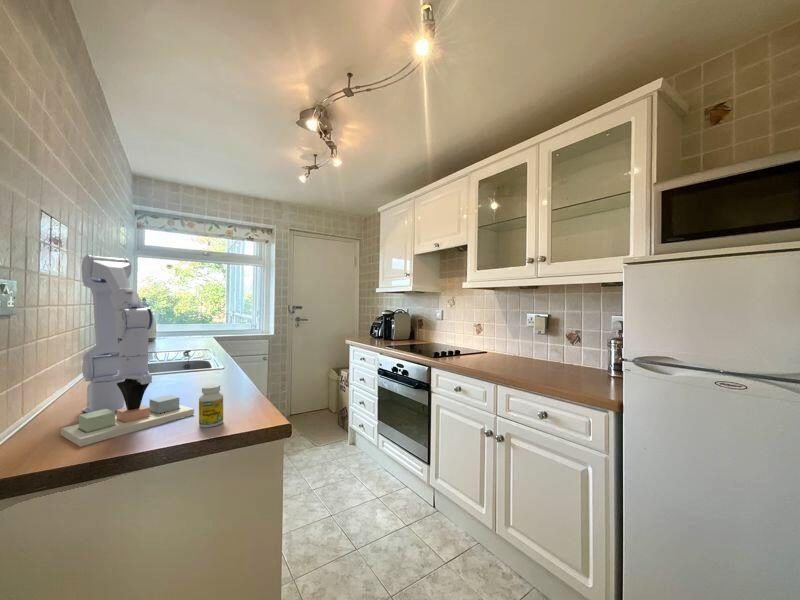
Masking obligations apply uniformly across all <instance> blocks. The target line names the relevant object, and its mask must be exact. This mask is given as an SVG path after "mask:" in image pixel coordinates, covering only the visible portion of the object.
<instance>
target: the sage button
mask: <svg viewBox="0 0 800 600" xmlns="http://www.w3.org/2000/svg"><path fill="white" fill-rule="evenodd" d="M115 415H116V411H115V412H113V411H111V410H108V409H103V410H99V411H94V412H89V413H87V412H85V413H81V414H78V424H79V428H80V429H82V430H84V431H86V432H87V433H89V431H91V432H93V430H95V431H96V430H97V429H99V430H100V429H101V428H103V429H104V428H105V427H107V428H108V427H109V426H113V425H115Z"/></svg>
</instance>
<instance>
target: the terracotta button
mask: <svg viewBox="0 0 800 600" xmlns="http://www.w3.org/2000/svg"><path fill="white" fill-rule="evenodd" d="M116 415H117V420H118V421H120V422H123V423H127V422H131V421H135V420H139V419H143V418H147V417H150V408H149V406H145V405H143V404H141V405H140V408H138V409H134V410H127V408H124V409H119V410H117V411H116Z"/></svg>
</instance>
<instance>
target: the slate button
mask: <svg viewBox="0 0 800 600" xmlns="http://www.w3.org/2000/svg"><path fill="white" fill-rule="evenodd" d="M179 404H180V397H179V396H177V395H172V394H167V395H164V396H158V397H153V398H150V399H149V406H148V407H149V408H150V411H152V412H155V413H158V414H159V413H161V414H162V413H163V412H165V413H166V412H167V411H169V412H170V411H171V410H175V409H179ZM158 414H157V415H158Z"/></svg>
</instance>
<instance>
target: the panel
mask: <svg viewBox="0 0 800 600" xmlns="http://www.w3.org/2000/svg"><path fill="white" fill-rule="evenodd" d="M193 414H194V415H195V408H192V407H189V406H186V405H182V404H180V403H179V409H175V410H171V411H169V412H165V413H164V412H163V413H161V414H160V413H159V414H158V413H155V412H152V411H150V417H147V418H143V419H139V420H135V421H131V422H127V423H123V422H120V421H118V420H117V414H115V425H113V426H109V427H105V428H101V429H97V430H93V431H89V432H86V431H84V430H82V429H80V428H79V423H78V424H74V425H69V426H65V427H61V428H60V430H61V431H60V432H61V436H62V437H64V438H65V439H66V440H68V441H70V442H72V443H74V444H75V445H77V446H79V447H80V448H81V447H84V446H88V445H91V444H95V443H98V442H102V441H105V440H109V439H112V438H116V437H120V436H123V435H127V434H131V433H135V432H138V431H140V430H144V429H147V428H151V427H155V426H158V425H162V424H166V423H168V421H170V422H172V420H173V421H175V419H177V420H180V419H182V417H184V418H187V417H190V416H189V415H191V416H194V415H193ZM186 416H187V417H186ZM179 418H180V419H179ZM165 422H166V423H165Z"/></svg>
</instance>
